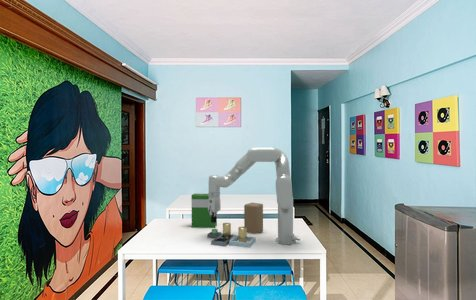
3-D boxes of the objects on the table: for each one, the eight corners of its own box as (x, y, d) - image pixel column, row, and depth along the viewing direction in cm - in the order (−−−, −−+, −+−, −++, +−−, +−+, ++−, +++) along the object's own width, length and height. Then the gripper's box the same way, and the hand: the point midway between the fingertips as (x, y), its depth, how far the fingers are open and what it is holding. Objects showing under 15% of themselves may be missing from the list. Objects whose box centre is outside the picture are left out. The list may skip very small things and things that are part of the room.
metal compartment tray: (223, 238, 203) (223, 233, 203) (236, 239, 199) (236, 235, 199) (211, 246, 186) (211, 241, 186) (225, 248, 183) (225, 243, 183)
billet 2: (247, 243, 190) (247, 227, 190) (245, 245, 186) (245, 229, 185) (240, 242, 192) (240, 226, 192) (237, 244, 187) (237, 228, 187)
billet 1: (231, 238, 198) (231, 223, 198) (228, 241, 193) (228, 225, 193) (224, 237, 200) (224, 222, 200) (221, 240, 195) (221, 224, 195)
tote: (255, 242, 192) (255, 237, 192) (248, 249, 181) (248, 243, 181) (236, 240, 197) (236, 235, 197) (229, 246, 185) (229, 240, 185)
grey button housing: (221, 237, 205) (221, 232, 205) (217, 240, 198) (217, 235, 198) (212, 236, 207) (212, 231, 207) (207, 239, 201) (207, 234, 201)
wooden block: (251, 230, 222) (251, 202, 222) (263, 232, 216) (263, 203, 216) (243, 233, 214) (243, 204, 214) (256, 235, 208) (256, 205, 208)
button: (218, 233, 204) (218, 229, 204) (216, 235, 200) (216, 230, 200) (213, 233, 205) (213, 228, 205) (210, 234, 202) (210, 230, 202)
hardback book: (216, 225, 235) (216, 193, 235) (215, 227, 228) (215, 195, 228) (193, 224, 237) (193, 193, 237) (191, 227, 230) (191, 195, 229)
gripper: (214, 196, 194) (213, 225, 195) (224, 193, 208) (223, 220, 208) (203, 195, 197) (203, 224, 197) (214, 192, 211) (213, 219, 211)
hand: (213, 222), depth 203 cm, fingers closed
